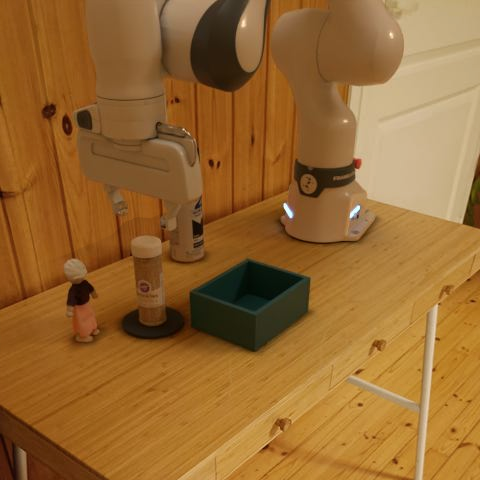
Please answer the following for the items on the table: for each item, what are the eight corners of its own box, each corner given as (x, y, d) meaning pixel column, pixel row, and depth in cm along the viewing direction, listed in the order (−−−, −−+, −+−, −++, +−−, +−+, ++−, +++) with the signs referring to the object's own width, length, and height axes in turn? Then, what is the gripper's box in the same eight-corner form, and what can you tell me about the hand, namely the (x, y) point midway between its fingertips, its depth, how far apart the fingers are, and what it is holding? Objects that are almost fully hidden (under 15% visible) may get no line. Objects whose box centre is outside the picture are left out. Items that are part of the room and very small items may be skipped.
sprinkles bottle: (137, 327, 97) (127, 246, 88) (141, 313, 100) (132, 234, 92) (165, 327, 97) (159, 246, 88) (169, 313, 100) (162, 234, 92)
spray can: (199, 264, 116) (194, 154, 104) (165, 261, 117) (156, 152, 105) (207, 251, 121) (204, 144, 109) (175, 248, 122) (168, 141, 110)
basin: (247, 291, 108) (247, 258, 104) (308, 311, 102) (311, 277, 98) (190, 326, 98) (189, 291, 94) (255, 351, 92) (255, 315, 88)
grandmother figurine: (83, 323, 99) (69, 248, 91) (106, 326, 98) (94, 250, 90) (65, 348, 93) (49, 270, 85) (89, 351, 92) (75, 273, 84)
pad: (151, 302, 104) (151, 300, 104) (196, 319, 100) (196, 317, 99) (109, 326, 98) (108, 323, 98) (155, 345, 93) (155, 343, 93)
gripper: (210, 124, 77) (214, 230, 86) (97, 103, 86) (110, 201, 95) (178, 135, 73) (185, 245, 82) (63, 111, 82) (80, 213, 91)
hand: (144, 221), depth 88 cm, fingers open, 8 cm apart
